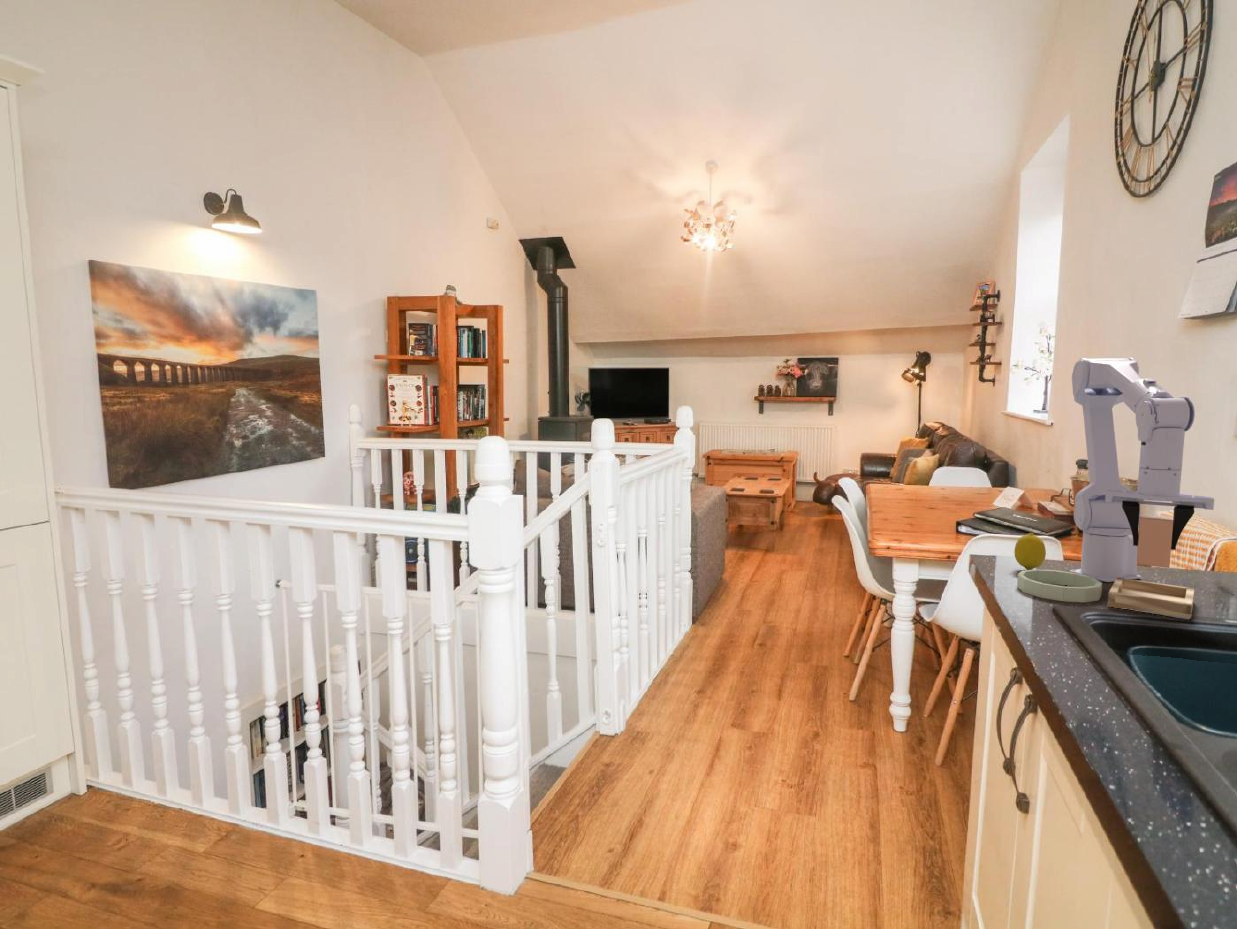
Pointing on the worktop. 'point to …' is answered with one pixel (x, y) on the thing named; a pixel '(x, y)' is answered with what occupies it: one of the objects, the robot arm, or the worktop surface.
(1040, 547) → the lemon
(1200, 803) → the worktop surface
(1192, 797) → the worktop surface
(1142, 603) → the birch tray
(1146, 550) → the pink block
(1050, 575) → the ceramic ring
